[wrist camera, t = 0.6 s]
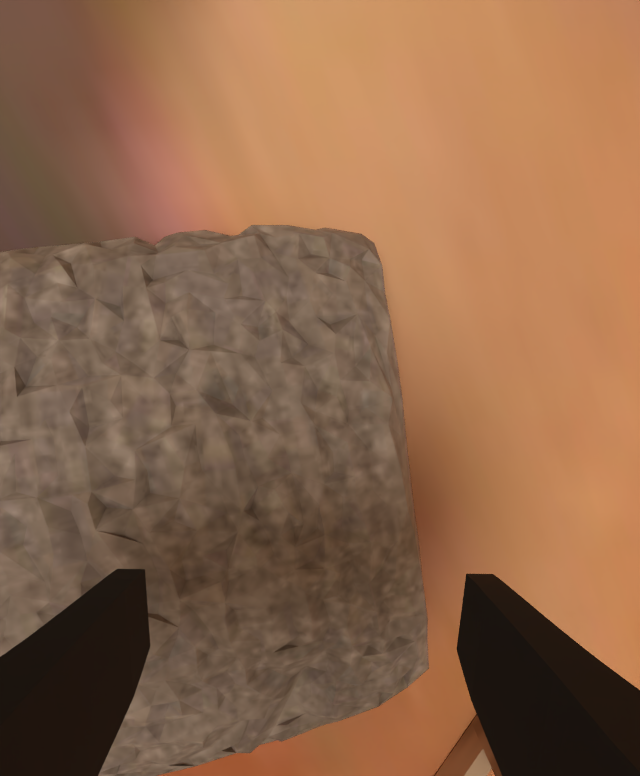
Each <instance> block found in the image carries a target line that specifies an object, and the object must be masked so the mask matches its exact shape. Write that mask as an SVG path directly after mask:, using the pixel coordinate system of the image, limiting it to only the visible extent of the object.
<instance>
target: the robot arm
mask: <svg viewBox="0 0 640 776" xmlns="http://www.w3.org/2000/svg"><path fill="white" fill-rule="evenodd" d="M149 649H150V634H149V620H148V605H147V591H146V577H145V569H116V570H115V571H113V572H112V573H111V574H109V575H108V576H107V577H105V578H104V579H103V580H101V581H100V582H99V583H97V584H96V585H95V586H94V587H92V588H91V589H90V590H88V591H87V592H86V593H85V594H83V595H82V596H81V597H80V598H78V599H77V600H76V601H74V602H73V603H72V604H71V605H69V606H68V607H67V608H65V609H64V610H63V611H62V612H60V613H59V614H58V615H56V616H55V617H54V618H52V619H51V620H50V621H48V622H47V623H46V624H45V625H43V626H42V627H41V628H39V629H38V630H37V631H35V632H34V633H33V634H31V635H30V636H29V637H27V638H26V639H25V640H23V641H22V642H20V643H19V644H18V645H16V646H15V647H13V648H12V649H11V650H9V651H8V652H6V653H5V654H4V655H2V656H1V657H0V776H98V775H99V773H100V770H101V768H102V766H103V764H104V762H105V760H106V757H107V755H108V753H109V751H110V749H111V746H112V744H113V742H114V740H115V738H116V735H117V733H118V731H119V729H120V727H121V724H122V722H123V720H124V718H125V715H126V713H127V711H128V709H129V706H130V704H131V702H132V700H133V697H134V694H135V692H136V689H137V686H138V683H139V680H140V677H141V674H142V671H143V668H144V665H145V662H146V659H147V655H148V652H149ZM457 652H458V656H459V659H460V663H461V667H462V670H463V674H464V677H465V681H466V684H467V687H468V691H469V694H470V697H471V700H472V703H473V705H474V708H475V711H476V713H477V716H478V718H479V720H480V723H481V725H482V728H483V730H484V733H485V735H486V738H487V740H488V743H489V745H490V748H491V750H492V752H493V755H494V757H495V760H496V762H497V765H498V767H499V769H500V772H501V774H502V776H640V690H639V689H637V688H636V687H634V686H633V685H632V684H630V683H629V682H628V681H626V680H625V679H624V678H622V677H621V676H620V675H618V674H617V673H616V672H614V671H613V670H612V669H610V668H609V667H607V666H606V665H605V664H603V663H602V662H601V661H600V660H598V659H597V658H596V657H594V656H593V655H592V654H591V653H589V652H588V651H587V650H585V649H584V648H583V647H582V646H580V645H579V644H578V643H577V642H575V641H574V640H573V639H572V638H570V637H569V636H568V635H567V634H565V633H564V632H563V631H562V630H560V629H559V628H558V627H557V626H556V625H554V624H553V623H552V622H551V621H550V620H548V619H547V618H546V617H545V616H543V615H542V614H541V613H540V612H539V611H537V610H536V609H535V608H534V607H533V606H532V605H530V604H529V603H528V602H527V601H526V600H524V599H523V598H522V597H521V596H520V595H518V594H517V593H516V592H515V591H514V590H512V589H511V588H510V587H509V586H507V585H506V584H505V583H504V582H503V581H501V580H500V579H499V578H497V577H496V576H495V575H493V574H466V581H465V589H464V597H463V604H462V612H461V620H460V628H459V636H458V644H457Z"/></svg>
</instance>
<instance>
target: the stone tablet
mask: <svg viewBox="0 0 640 776" xmlns="http://www.w3.org/2000/svg"><path fill="white" fill-rule="evenodd" d="M116 569H145V577H146V591H147V605H148V620H149V634H150V649H149V652H148V655H147V659H146V662H145V665H144V668H143V671H142V674H141V677H140V680H139V683H138V686H137V689H136V692H135V694H134V697H133V700H132V702H131V704H130V706H129V709H128V711H127V713H126V715H125V718H124V720H123V722H122V724H121V727H120V729H119V731H118V733H117V735H116V738H115V740H114V742H113V744H112V746H111V749H110V751H109V753H108V755H107V757H106V760H105V762H104V764H103V766H102V768H101V770H100V773H99V775H98V776H157V775H161V774H165V773H169V772H174V771H178V770H182V769H186V768H190V767H194V766H198V765H201V764H204V763H207V762H210V761H213V760H216V759H219V758H222V757H225V756H229V755H232V754H235V753H251V752H252V751H253V750H254V749H255V748H256V747H258V746H259V745H261V744H265V743H269V742H272V741H276V740H279V741H284V740H287V739H289V738H292V737H294V736H297V735H299V734H302V733H304V732H307V731H309V730H312V729H314V728H317V727H319V726H322V725H325V724H329V723H333V722H337V721H340V720H343V719H346V718H349V717H351V716H354V715H357V714H359V713H362V712H365V711H368V710H370V709H373V708H376V707H378V706H380V705H381V704H383V703H384V702H386V701H387V700H389V699H390V698H392V697H393V696H395V695H396V694H398V693H399V692H401V691H402V690H404V689H405V688H407V687H408V686H409V685H411V684H412V683H413V682H414V681H415V680H416V679H417V678H418V677H420V676H421V675H422V674H423V673H424V672H425V671H426V670H428V669H429V663H428V642H427V622H428V619H427V611H426V603H425V595H424V587H423V579H422V570H421V559H420V548H419V539H418V532H417V525H416V518H415V510H414V502H413V493H412V485H411V476H410V468H409V459H408V450H407V441H406V431H405V421H404V411H403V401H402V393H401V385H400V377H399V369H398V362H397V356H396V350H395V344H394V338H393V332H392V326H391V320H390V315H389V310H388V305H387V300H386V295H385V288H384V279H383V269H382V264H381V261H380V258H379V255H378V253H377V250H376V247H375V244H374V243H373V242H372V241H370V240H369V239H368V238H366V237H365V236H363V235H362V234H359V233H353V232H347V231H341V230H335V229H329V228H322V229H317V230H313V229H307V228H301V227H295V226H289V225H251V226H250V227H249V228H247V229H246V230H244V231H243V232H242V233H240V234H239V235H236V236H228V235H224V234H220V233H215V232H211V231H207V230H201V231H191V232H180V233H175V234H172V235H169V236H166V237H164V238H163V239H162V240H161V241H160V242H158V243H157V244H156V245H152V244H150V243H148V242H146V241H143V240H141V239H139V238H137V237H131V238H124V239H117V240H109V241H102V242H92V243H80V244H68V245H57V246H45V247H34V248H24V249H17V250H10V251H3V252H0V657H1V656H2V655H4V654H5V653H6V652H8V651H9V650H11V649H12V648H13V647H15V646H16V645H18V644H19V643H20V642H22V641H23V640H25V639H26V638H27V637H29V636H30V635H31V634H33V633H34V632H35V631H37V630H38V629H39V628H41V627H42V626H43V625H45V624H46V623H47V622H48V621H50V620H51V619H52V618H54V617H55V616H56V615H58V614H59V613H60V612H62V611H63V610H64V609H65V608H67V607H68V606H69V605H71V604H72V603H73V602H74V601H76V600H77V599H78V598H80V597H81V596H82V595H83V594H85V593H86V592H87V591H88V590H90V589H91V588H92V587H94V586H95V585H96V584H97V583H99V582H100V581H101V580H103V579H104V578H105V577H107V576H108V575H109V574H111V573H112V572H113V571H115V570H116Z"/></svg>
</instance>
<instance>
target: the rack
mask: <svg viewBox="0 0 640 776" xmlns="http://www.w3.org/2000/svg"><path fill="white" fill-rule="evenodd" d="M491 769H492V770H493V772H494V774H495V776H502V774H501V772H500V769H499V767H498V765H497V762H496V760H495V757H494V755H493V752H492V750H491V748H490V745H489V743H488V740H487V738H486V735H485V733H484V730H483V728H482V725H481V723H480V720H479V718H478V716H477V715H476V717H475V718H474V720H473V721H472V723H471V724H470V726H469V727H468V728H467V730H466V731H465V733H464V734H463V736H462V737H461V739H460V740H459V741H458V743H457V744H456V746H455V747H454V749H453V750H452V752H451V753H450V754H449V756H448V757H447V759H446V760H445V762H444V763H443V765H442V766H441V768H440V769H439V770H438V772H437V773H436V775H435V776H487V775H488V773H489V772H490V770H491Z"/></svg>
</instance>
